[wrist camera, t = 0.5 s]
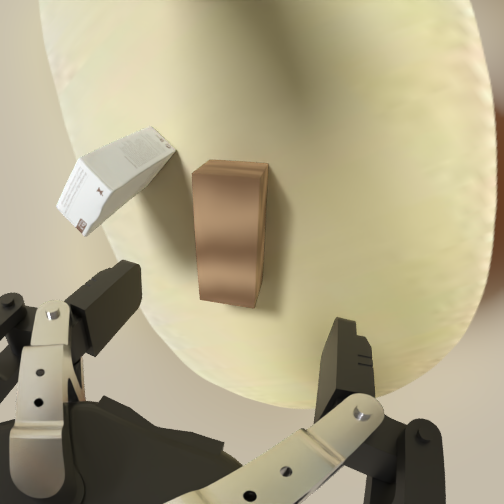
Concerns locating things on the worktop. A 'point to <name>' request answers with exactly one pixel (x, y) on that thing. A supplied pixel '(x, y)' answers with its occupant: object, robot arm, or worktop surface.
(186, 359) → the worktop surface
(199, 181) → the walnut ledge
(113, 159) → the skincare box
